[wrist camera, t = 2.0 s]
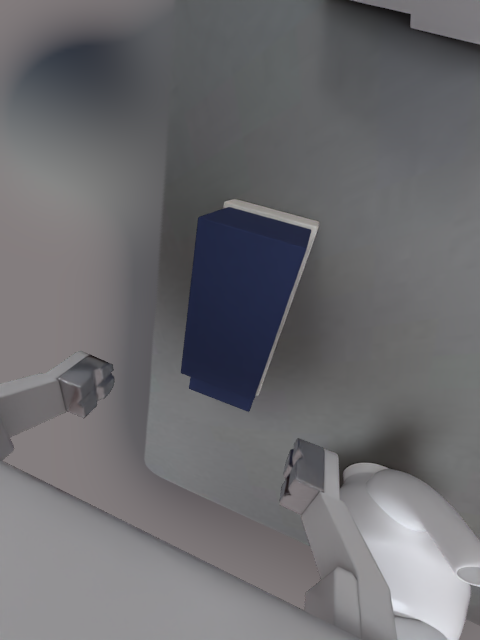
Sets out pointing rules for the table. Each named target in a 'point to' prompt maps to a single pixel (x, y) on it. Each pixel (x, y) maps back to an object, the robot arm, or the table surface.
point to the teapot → (415, 549)
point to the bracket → (439, 16)
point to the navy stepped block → (241, 296)
